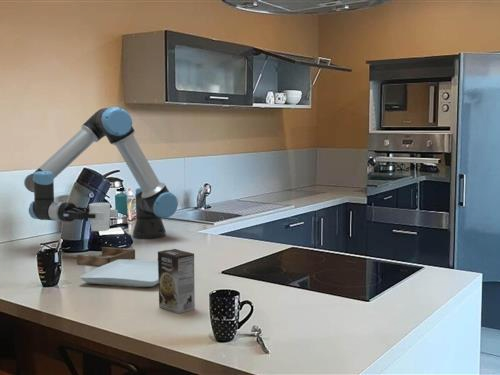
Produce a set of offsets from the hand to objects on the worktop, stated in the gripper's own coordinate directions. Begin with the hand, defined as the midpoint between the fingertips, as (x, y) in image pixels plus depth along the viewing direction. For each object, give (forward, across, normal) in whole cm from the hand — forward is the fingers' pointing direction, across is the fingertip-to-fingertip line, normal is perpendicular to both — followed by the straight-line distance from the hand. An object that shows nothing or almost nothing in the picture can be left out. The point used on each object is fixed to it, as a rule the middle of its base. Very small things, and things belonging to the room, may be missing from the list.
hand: (110, 214), depth 225 cm
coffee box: (+54, +40, -18) cm, 70 cm away
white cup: (-5, 0, -6) cm, 8 cm away
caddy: (-2, 0, -18) cm, 18 cm away
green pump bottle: (-49, -71, -18) cm, 88 cm away
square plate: (+23, +17, -19) cm, 34 cm away
